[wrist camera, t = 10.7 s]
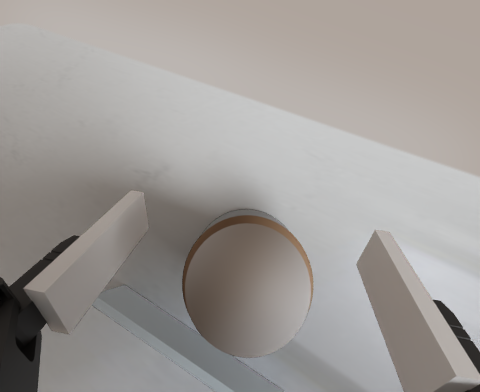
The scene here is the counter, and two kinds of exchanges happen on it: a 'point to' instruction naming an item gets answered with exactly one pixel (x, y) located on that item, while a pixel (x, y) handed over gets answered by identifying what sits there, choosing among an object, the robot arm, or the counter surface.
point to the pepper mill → (247, 286)
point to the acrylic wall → (180, 343)
